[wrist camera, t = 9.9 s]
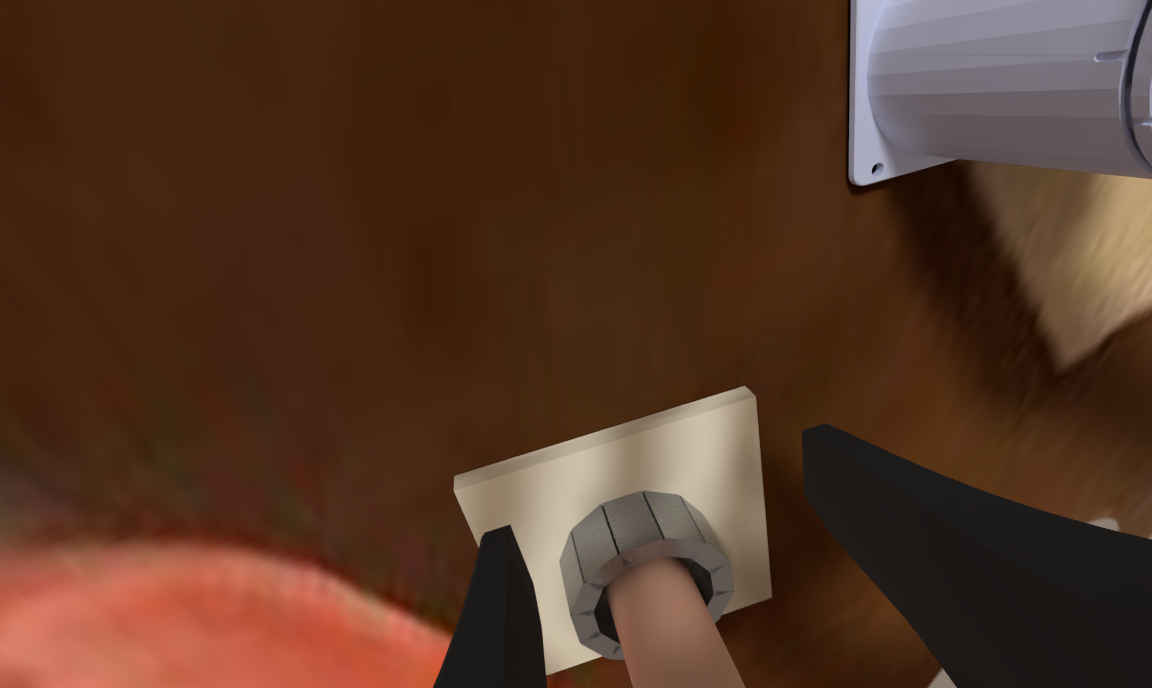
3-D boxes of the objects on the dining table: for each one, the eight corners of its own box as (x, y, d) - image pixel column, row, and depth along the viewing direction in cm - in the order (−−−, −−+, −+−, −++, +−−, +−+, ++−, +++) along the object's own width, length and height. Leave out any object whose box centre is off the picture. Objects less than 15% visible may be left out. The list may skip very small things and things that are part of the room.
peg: (650, 506, 25) (724, 667, 18) (686, 551, 27) (767, 714, 19) (581, 550, 25) (627, 725, 18) (621, 591, 27) (677, 767, 20)
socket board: (744, 385, 24) (793, 434, 21) (762, 583, 30) (802, 646, 27) (454, 476, 23) (452, 543, 20) (534, 661, 29) (544, 737, 26)
